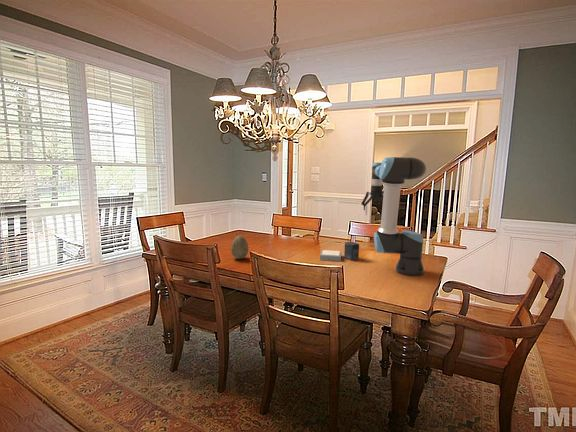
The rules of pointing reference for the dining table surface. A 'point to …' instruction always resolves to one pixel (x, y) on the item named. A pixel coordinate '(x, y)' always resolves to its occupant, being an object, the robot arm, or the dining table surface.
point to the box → (351, 251)
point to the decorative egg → (239, 247)
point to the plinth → (330, 255)
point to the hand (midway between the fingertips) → (375, 216)
